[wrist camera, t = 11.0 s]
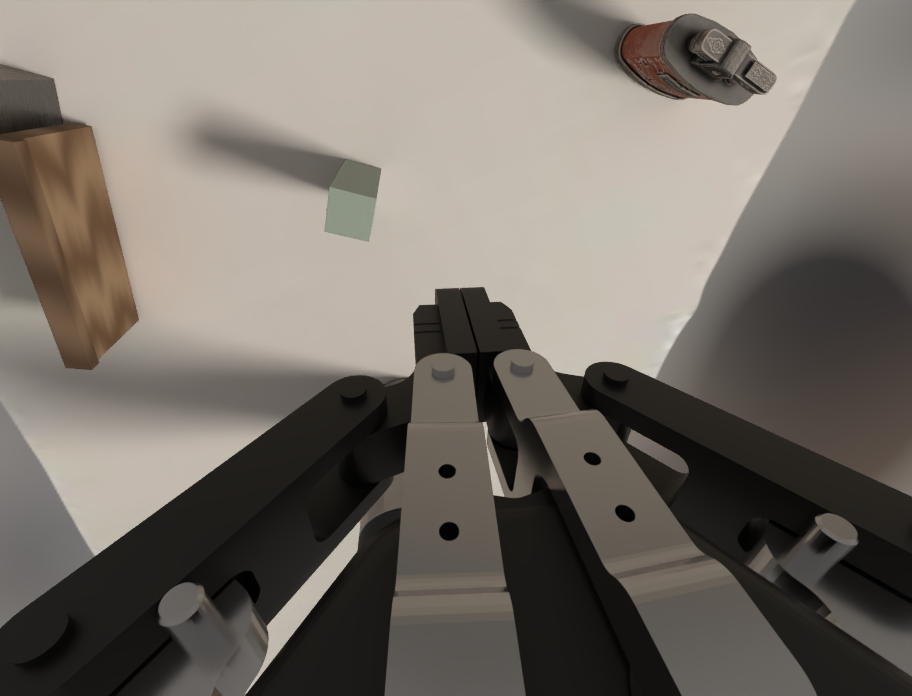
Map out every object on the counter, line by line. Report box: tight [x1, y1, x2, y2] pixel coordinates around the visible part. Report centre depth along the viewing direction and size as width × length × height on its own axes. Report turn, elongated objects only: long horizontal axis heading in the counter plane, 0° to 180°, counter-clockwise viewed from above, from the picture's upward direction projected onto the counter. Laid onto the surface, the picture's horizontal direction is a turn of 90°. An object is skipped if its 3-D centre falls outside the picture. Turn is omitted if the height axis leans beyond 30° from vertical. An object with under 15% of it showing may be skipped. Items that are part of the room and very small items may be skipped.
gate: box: [0, 123, 139, 370], centre depth 32 cm, size 17×2×8 cm, turn 168°
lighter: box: [614, 14, 777, 105], centre depth 29 cm, size 8×3×10 cm, turn 65°
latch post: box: [324, 159, 381, 242], centre depth 31 cm, size 3×3×10 cm
